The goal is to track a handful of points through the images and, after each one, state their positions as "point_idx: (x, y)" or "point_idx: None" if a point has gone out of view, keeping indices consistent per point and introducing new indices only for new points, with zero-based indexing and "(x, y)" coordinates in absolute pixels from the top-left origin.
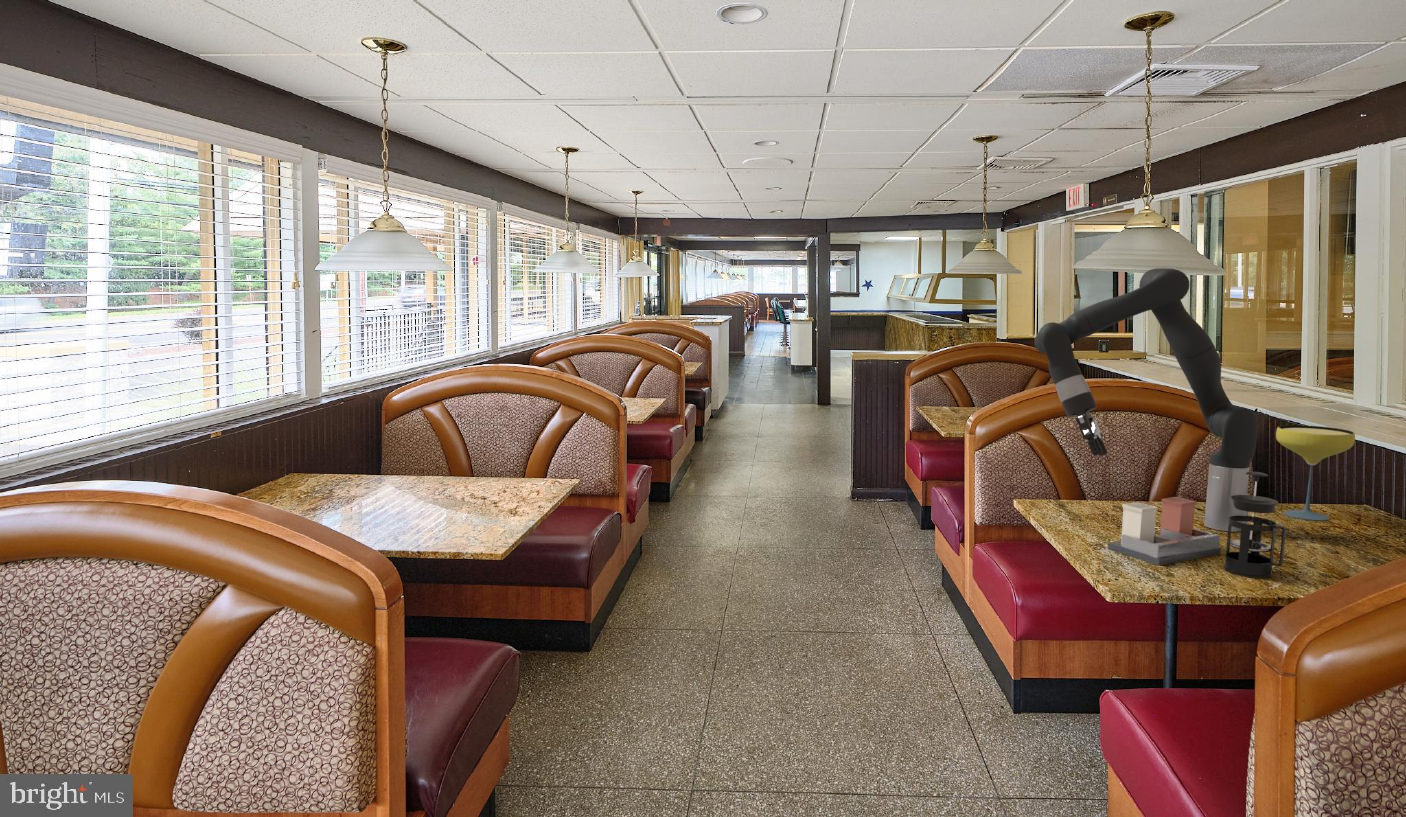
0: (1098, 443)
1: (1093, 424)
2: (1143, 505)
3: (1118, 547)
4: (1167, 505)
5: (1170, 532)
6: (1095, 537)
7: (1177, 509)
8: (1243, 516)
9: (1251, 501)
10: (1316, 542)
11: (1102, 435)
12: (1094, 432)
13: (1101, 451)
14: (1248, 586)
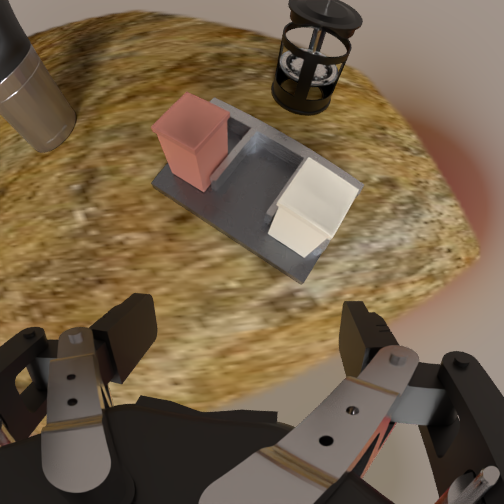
0: (369, 328)
1: (370, 439)
2: (311, 187)
3: (316, 261)
4: (204, 146)
5: (229, 166)
6: (219, 318)
7: (221, 129)
8: (288, 41)
9: (352, 16)
10: (102, 49)
11: (32, 330)
12: (378, 384)
13: (362, 303)
14: (368, 103)
